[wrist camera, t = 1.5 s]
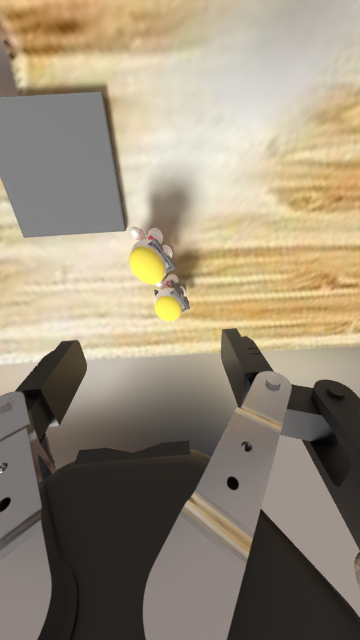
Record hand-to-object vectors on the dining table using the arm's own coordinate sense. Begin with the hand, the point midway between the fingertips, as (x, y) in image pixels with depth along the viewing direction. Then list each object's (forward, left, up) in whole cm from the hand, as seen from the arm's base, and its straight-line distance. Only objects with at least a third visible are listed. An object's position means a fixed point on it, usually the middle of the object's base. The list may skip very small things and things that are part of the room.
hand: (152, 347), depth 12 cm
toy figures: (0, 0, -19) cm, 19 cm away
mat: (+10, -11, -19) cm, 24 cm away
